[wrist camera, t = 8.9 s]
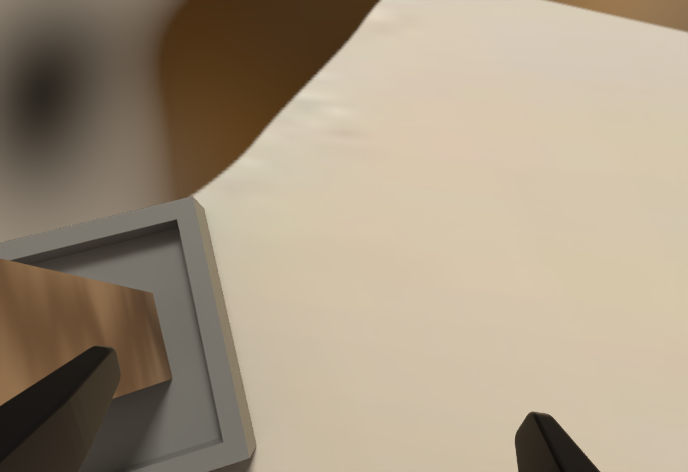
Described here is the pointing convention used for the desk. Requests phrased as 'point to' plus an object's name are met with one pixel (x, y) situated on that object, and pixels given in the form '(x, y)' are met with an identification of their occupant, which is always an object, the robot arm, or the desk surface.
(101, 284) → the block
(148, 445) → the tray
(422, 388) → the desk surface
